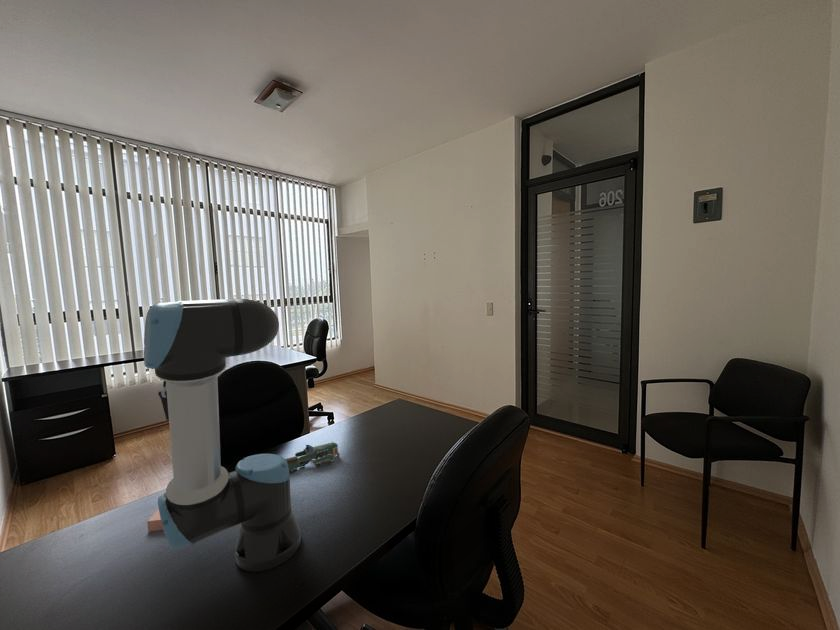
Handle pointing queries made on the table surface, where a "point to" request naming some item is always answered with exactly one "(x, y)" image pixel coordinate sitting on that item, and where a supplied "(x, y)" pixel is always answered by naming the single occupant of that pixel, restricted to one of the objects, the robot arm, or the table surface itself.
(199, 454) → the robot arm
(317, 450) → the hoverbike
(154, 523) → the orange triangular block
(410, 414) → the table surface
